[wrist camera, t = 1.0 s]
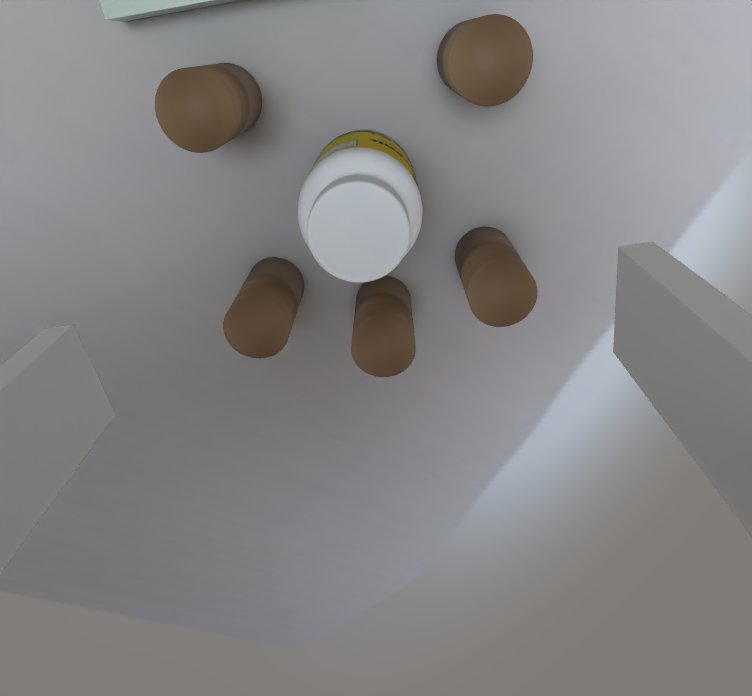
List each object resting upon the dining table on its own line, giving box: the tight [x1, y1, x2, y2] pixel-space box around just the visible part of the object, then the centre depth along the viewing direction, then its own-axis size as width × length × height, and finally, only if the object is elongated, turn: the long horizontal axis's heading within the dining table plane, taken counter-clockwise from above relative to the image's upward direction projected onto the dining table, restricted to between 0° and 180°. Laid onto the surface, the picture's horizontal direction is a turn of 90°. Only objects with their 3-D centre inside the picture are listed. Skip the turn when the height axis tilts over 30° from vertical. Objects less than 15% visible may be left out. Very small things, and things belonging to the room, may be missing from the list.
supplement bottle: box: [298, 130, 423, 283], centre depth 26 cm, size 5×5×10 cm
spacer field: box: [155, 14, 537, 377], centre depth 28 cm, size 15×15×6 cm
